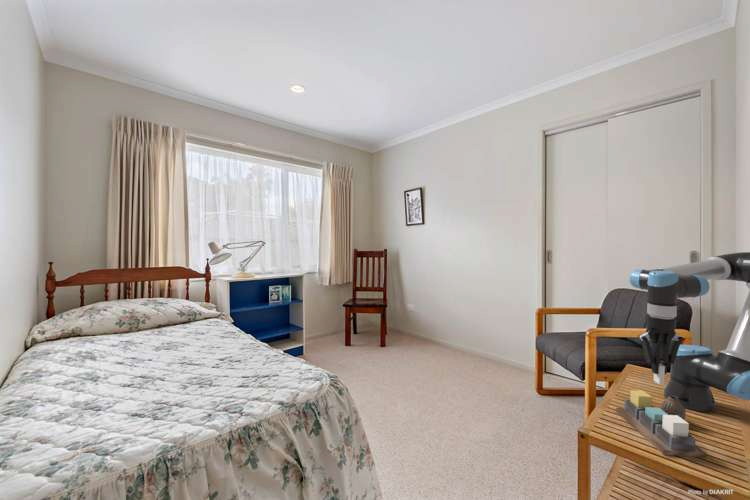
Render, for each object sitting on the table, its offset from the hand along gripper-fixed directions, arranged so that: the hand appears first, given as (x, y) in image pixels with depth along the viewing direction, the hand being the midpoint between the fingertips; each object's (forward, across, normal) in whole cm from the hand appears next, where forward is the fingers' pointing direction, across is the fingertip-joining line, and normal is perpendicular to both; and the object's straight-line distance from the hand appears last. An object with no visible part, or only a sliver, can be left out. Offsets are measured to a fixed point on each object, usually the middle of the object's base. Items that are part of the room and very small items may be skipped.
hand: (658, 382), depth 111 cm
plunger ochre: (+13, 0, -8) cm, 15 cm away
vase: (+18, -10, -8) cm, 23 cm away
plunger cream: (+13, 0, +8) cm, 15 cm away
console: (+18, 0, 0) cm, 18 cm away
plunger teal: (+15, 0, 0) cm, 15 cm away
